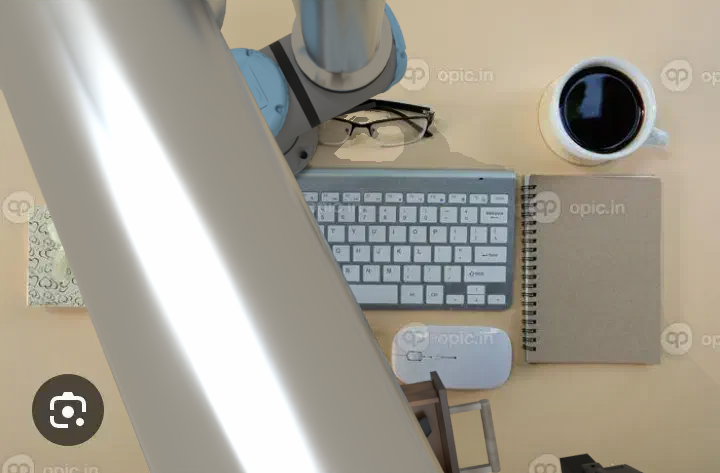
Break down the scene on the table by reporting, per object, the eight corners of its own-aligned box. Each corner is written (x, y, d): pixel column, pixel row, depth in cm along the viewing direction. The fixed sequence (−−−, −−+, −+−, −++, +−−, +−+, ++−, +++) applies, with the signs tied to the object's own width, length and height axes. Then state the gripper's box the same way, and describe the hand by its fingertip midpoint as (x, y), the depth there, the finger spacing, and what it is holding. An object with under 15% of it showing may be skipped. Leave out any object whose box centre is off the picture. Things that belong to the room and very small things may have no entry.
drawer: (474, 363, 57) (489, 381, 51) (492, 470, 58) (509, 501, 51) (319, 389, 57) (314, 410, 51) (338, 496, 58) (335, 531, 51)
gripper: (708, 597, 21) (524, 403, 45) (751, 874, 21) (546, 535, 45) (872, 570, 21) (602, 390, 45) (914, 847, 21) (623, 523, 45)
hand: (574, 463), depth 45 cm, fingers closed
